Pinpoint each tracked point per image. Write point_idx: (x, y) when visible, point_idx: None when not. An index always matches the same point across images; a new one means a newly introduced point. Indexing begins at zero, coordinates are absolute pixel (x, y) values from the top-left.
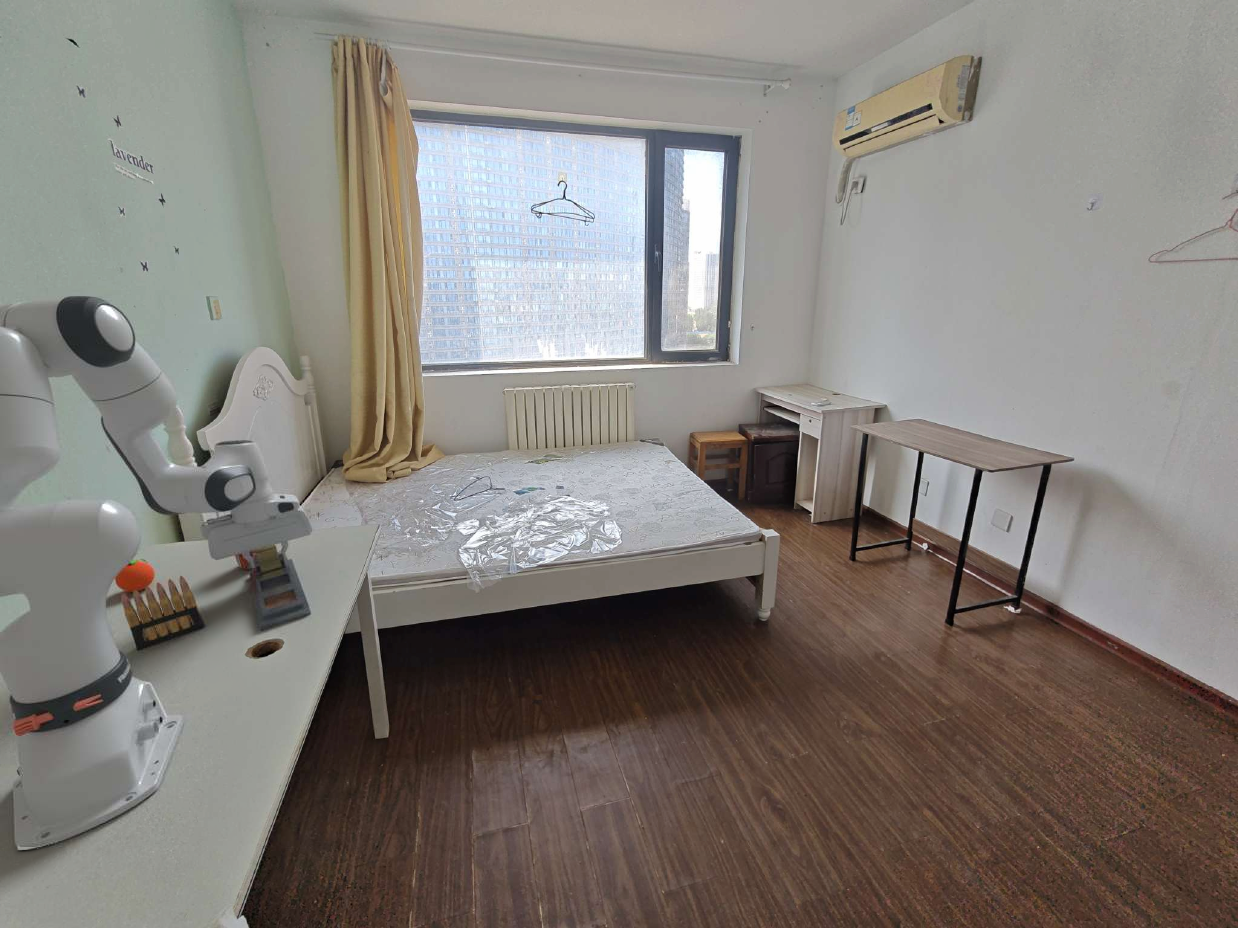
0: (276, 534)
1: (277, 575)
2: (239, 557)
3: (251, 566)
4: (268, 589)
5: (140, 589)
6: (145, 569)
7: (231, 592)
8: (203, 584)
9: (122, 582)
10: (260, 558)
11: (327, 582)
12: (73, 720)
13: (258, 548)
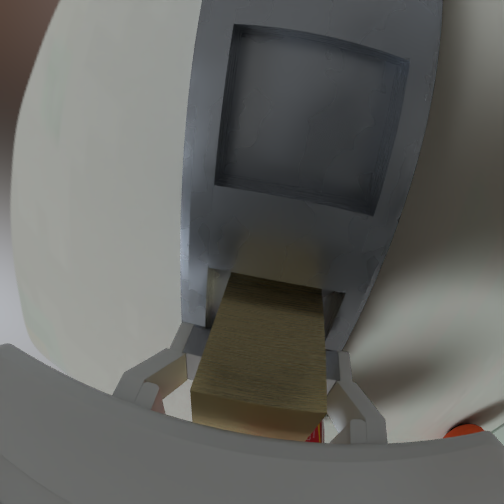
0: (130, 478)
1: (272, 208)
2: (320, 438)
3: None
4: (349, 139)
5: (466, 424)
6: None
7: (417, 305)
8: (413, 394)
9: None
10: (310, 374)
11: (106, 59)
12: None
13: (299, 443)
